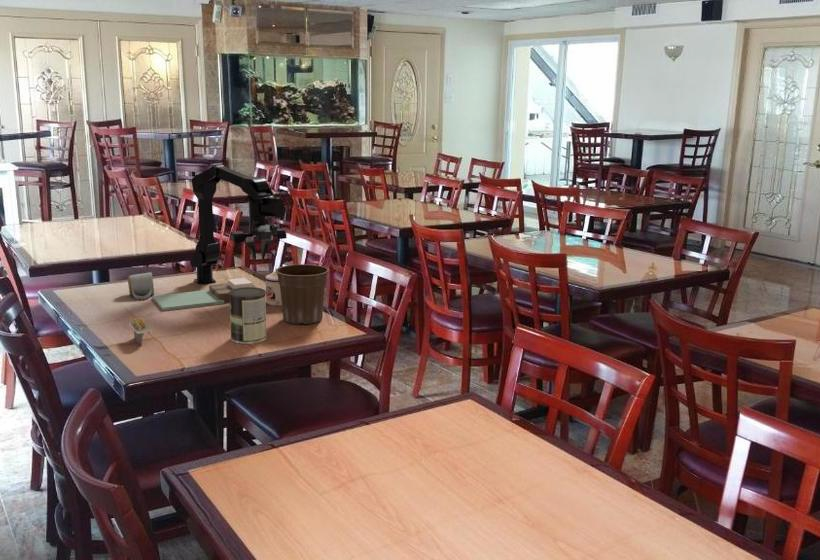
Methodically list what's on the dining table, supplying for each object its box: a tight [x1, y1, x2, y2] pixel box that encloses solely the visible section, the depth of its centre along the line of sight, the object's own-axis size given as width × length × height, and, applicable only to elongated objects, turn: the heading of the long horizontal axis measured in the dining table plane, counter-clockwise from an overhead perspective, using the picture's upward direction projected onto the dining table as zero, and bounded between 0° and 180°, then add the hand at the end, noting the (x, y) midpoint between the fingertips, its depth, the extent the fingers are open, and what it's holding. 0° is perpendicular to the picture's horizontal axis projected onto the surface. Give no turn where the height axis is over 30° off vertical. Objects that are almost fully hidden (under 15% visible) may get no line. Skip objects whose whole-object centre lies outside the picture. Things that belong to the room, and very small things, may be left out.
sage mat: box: [151, 289, 225, 312], centre depth 262 cm, size 16×20×1 cm
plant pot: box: [275, 263, 330, 325], centre depth 242 cm, size 16×16×16 cm
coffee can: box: [229, 286, 268, 345], centre depth 223 cm, size 10×10×14 cm
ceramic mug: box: [127, 271, 155, 300], centre depth 266 cm, size 11×8×8 cm
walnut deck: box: [208, 282, 258, 303], centre depth 269 cm, size 13×14×3 cm
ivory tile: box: [227, 277, 253, 289], centre depth 269 cm, size 8×6×2 cm
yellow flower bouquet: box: [128, 317, 151, 347], centre depth 220 cm, size 12×18×7 cm, turn 32°
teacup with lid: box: [264, 270, 282, 307], centre depth 260 cm, size 12×9×12 cm
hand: (258, 259), depth 271 cm, fingers open, 3 cm apart
